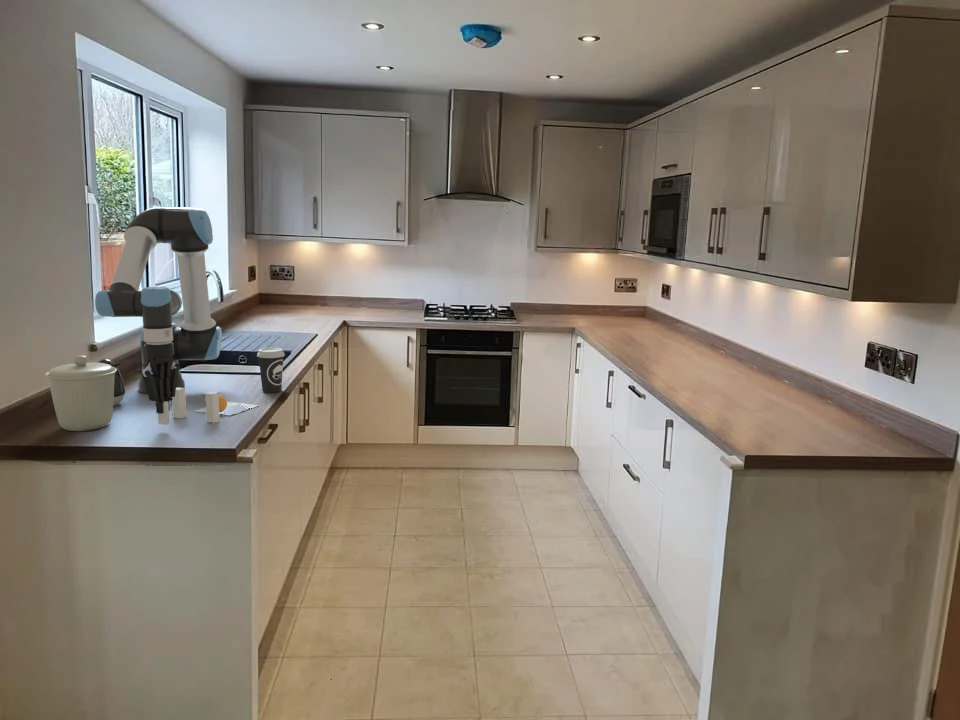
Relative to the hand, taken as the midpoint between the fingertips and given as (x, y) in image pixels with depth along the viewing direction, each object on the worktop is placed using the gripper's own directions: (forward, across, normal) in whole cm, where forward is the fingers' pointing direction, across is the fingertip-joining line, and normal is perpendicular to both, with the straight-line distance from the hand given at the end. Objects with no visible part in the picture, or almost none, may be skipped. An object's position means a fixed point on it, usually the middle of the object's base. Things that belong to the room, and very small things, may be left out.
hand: (164, 423), depth 205 cm
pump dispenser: (+2, +15, +37) cm, 40 cm away
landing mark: (+2, +27, 0) cm, 27 cm away
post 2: (+2, +13, -6) cm, 15 cm away
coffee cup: (+2, +53, +2) cm, 53 cm away
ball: (0, +22, 0) cm, 22 cm away
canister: (+2, -6, +23) cm, 24 cm away
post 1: (+2, +13, +6) cm, 15 cm away
